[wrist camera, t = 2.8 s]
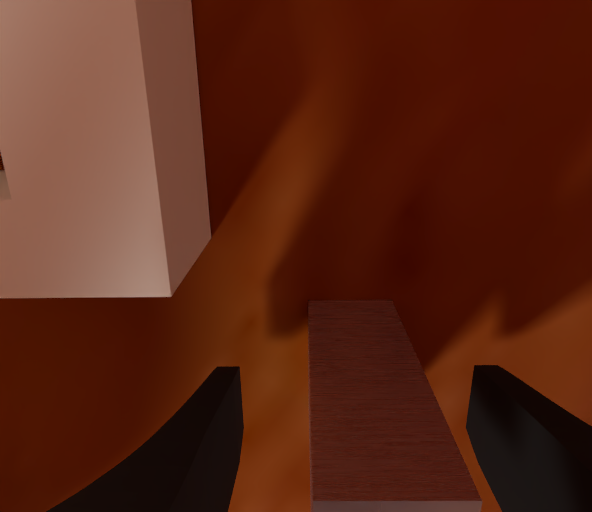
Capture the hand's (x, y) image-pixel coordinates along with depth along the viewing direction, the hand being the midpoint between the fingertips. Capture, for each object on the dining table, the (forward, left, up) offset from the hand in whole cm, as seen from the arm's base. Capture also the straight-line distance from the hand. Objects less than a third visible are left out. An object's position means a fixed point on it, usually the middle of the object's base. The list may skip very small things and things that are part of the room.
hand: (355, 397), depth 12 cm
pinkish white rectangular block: (0, 0, -2) cm, 2 cm away
